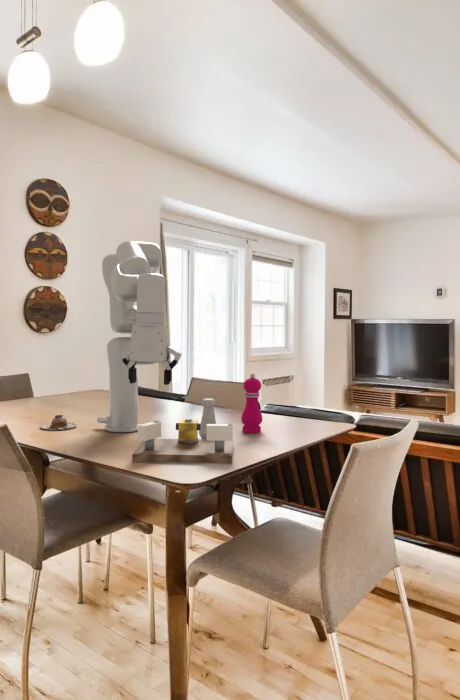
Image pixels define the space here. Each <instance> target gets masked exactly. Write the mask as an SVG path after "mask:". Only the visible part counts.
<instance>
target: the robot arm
mask: <svg viewBox="0 0 460 700" xmlns="http://www.w3.org/2000/svg"><path fill="white" fill-rule="evenodd" d="M162 253H163V252H162V249H161V247H160V246H159V245H158V244H157V243H154V242H147V241H139V240H138V241H135V240H133V241H132V240H126V241H123V242H121V243H119V245H118V246H117V248H116V251H115V253H110V254H106V256H104V257H103V259H102V263H101V269H102V270H101V271H102V277H103V280H104V283H105V284H104V285H105V287H106V289H107V292H108V296H109V318H110V320H109V321H110V322H109V323H110V328H111V331H112V332H114V333H116V334H120V335H121V334H122V335H130V336H117V337H113V338H111V339H109V341H107V345H106V354H107V362H108V368H109V369H108V370H109V395H108V396H109V402H108V403H109V405H108V406H109V407H108V408H109V409H108V411H109V415H107V416H97V418H96V422H97V423H98V424H105V425H104V430H105V431H106V432H111V433H133V432H138V425H141V424H142V423H138V422H139V421H138V420H139V419H138V418H139V417H138V415H139V414H138V411H139V409H138V408H139V407H138V405H139V391H138V390H139V379H138V375H137V374H138V373H137V369H138V368H136V366H142V365H143V366H144V365H145V366H147V365H154V364H159V363H161V364H162V365H163V367H164V368H165V369H164V371H163V385H164V386H167V385H171V382H172V378H173V376H172V372H173V369H174V368H175V367H176V366H177V364H179V361H180V359H181V357H182V356H183V355H182V353H181V352H179V351H177V350H176V349H175V348H173V347H171V346H170V345H171V344H170V338H169V337H170V336H169V330H168V325H165V322H166V320H165V319H166V317H165V315H166V278H165V276H164V275H162V274H160V273H157V272H158V270H159V269H160V267H161V264H162V262H163V254H162ZM171 355H172V356H174V358H173V360H172V361H170V358H171Z"/></svg>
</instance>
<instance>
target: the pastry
mask: <svg viewBox="0 0 460 700" xmlns="http://www.w3.org/2000/svg"><path fill="white" fill-rule="evenodd" d="M68 424H71V425H73V426H72V427H71V426H68ZM48 425H49V426H50V427H49V428H48V427H47V428H45V426H48ZM77 426H78V424H77V423H75V422H70V421H69V422H68V420H67V418H66V417H64V415H62V414H57V415H54V417H53V418H52V420H51V422H50V423H44V424H42V425H40V428H41V429H43V430H45V429H47V430H46V431H50V430H53V431H63V430H62V429H68V430H71V429H70V428H73V429H74V428H75V427H77ZM64 427H65V428H64ZM52 428H62V429H52Z"/></svg>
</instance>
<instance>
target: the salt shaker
mask: <svg viewBox="0 0 460 700" xmlns="http://www.w3.org/2000/svg"><path fill="white" fill-rule="evenodd" d="M216 404H217V403H216V400H215V399H214V398H211V397H210V398H208V397H207V398H203V399H202V400H201V406H202V407H203V410H202V416H201V418H200V419H201V421H200V424H201V429H200V430H198V434H199V437H200V439H202V440H206V432H207V424H217V421H216V414H215V408H214V407H215V406H216Z"/></svg>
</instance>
